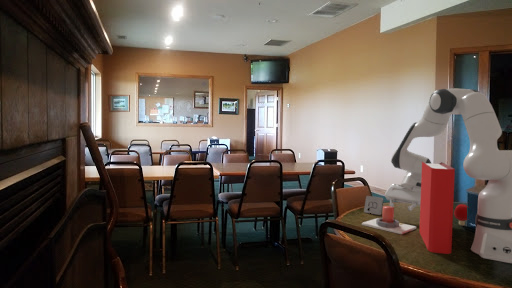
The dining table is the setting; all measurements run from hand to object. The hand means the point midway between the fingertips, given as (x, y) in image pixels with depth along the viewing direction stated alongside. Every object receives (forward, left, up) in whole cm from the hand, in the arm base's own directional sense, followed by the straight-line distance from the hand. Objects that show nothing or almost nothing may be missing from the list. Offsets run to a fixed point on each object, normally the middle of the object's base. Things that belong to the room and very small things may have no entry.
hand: (400, 208), depth 184 cm
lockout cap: (0, +12, -6) cm, 13 cm away
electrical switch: (+19, -8, -7) cm, 22 cm away
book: (-24, +18, -7) cm, 31 cm away
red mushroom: (-22, -18, -7) cm, 29 cm away
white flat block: (0, +11, -7) cm, 13 cm away
